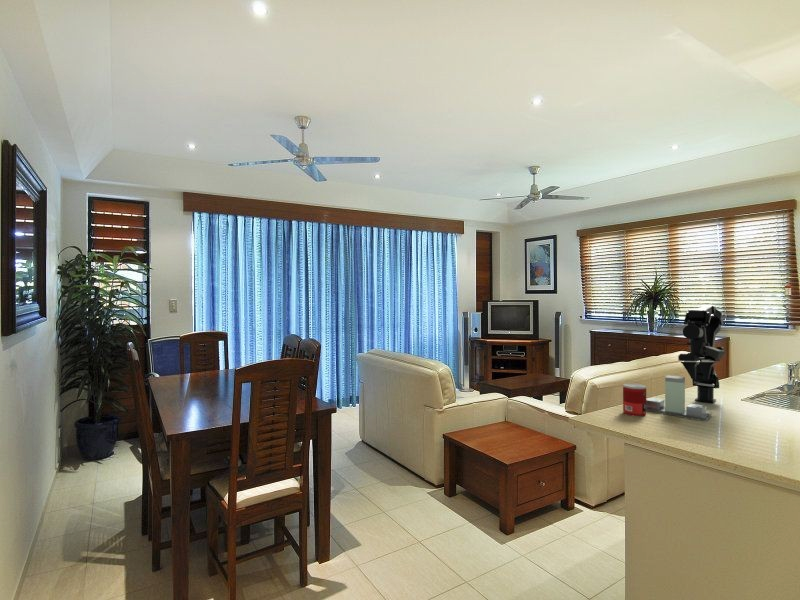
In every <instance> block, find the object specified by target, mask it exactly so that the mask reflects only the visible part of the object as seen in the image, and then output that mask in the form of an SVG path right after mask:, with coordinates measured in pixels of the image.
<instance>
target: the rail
mask: <svg viewBox="0 0 800 600" xmlns="http://www.w3.org/2000/svg"><path fill="white" fill-rule="evenodd" d="M646 412H651V413H656V414H662V413H663V414H662V415H667V414H669V415H668V416H673V415H674V417H678V418H685V417H686V418H687V419H691V418H693V420H697V419H699V420H698V421H703V420H707V421H709V419H711V418H712V413H708V412H707V405H704V404H703V405H702V404H696V403H689V404H688V405H685V411H684V413H677V412H670V411H665V398H664V399H663V398H657V397H649V398H646Z"/></svg>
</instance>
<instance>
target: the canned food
mask: <svg viewBox="0 0 800 600" xmlns="http://www.w3.org/2000/svg"><path fill="white" fill-rule="evenodd" d="M646 400H647V386H646V385H644V384H640V383H629V382H628V383H623V385H622V412H623V413H624V414H626V415H628V416H632V415H634V416H635V417H645V416H646V414H647V411H646ZM634 416H633V417H634Z"/></svg>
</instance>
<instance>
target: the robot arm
mask: <svg viewBox="0 0 800 600" xmlns="http://www.w3.org/2000/svg"><path fill="white" fill-rule="evenodd" d="M683 325H684V327H683V329H682V335H683V336H684V337H685V338H686V339H688V340H689V342H687V343H686V344H687V346H689V352H688V353H680V354H678V356H677V359H678V361H679V362H680V364H681V365H683V367H684V369H686V371H687V373H688V375H689V376H690V378H691V380H692V382H691V383H692V386H693V387H696V388H697V397H696V398H695V399H694V401H696V402H703V403H709V404H710V403H711V404H713V403H715V402H716V401H717V399H715V398H714V397H715V396H714V393H715V392H714V391H715V390H714V389H720V381H719V377H718V374H717V372H716V370H715V368H714V366H715V365H716V364H718V363H719V362H720V359H721V360H722V359H723V358H724V356H726V355H727V354H726V350H725V347H723V346H716V347H715V343H716V335H717V334H718V333H719V332H721V330H722V326H723V325H724V316H723V313H722V311H720V310H718V309H717V308H716V305H713V304H702V305H700V307H698V308H689V309H688V310H687V311H686V312H685V316H684V321H683Z"/></svg>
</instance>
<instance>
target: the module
mask: <svg viewBox="0 0 800 600" xmlns="http://www.w3.org/2000/svg"><path fill="white" fill-rule="evenodd" d="M664 388H665V389H664V406H665V411H670V412H677V413H684V411H685V410H686V390H685V389H686V377H685V376H679V375H678V376H677V375H668V374H666V375H665V377H664Z"/></svg>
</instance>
